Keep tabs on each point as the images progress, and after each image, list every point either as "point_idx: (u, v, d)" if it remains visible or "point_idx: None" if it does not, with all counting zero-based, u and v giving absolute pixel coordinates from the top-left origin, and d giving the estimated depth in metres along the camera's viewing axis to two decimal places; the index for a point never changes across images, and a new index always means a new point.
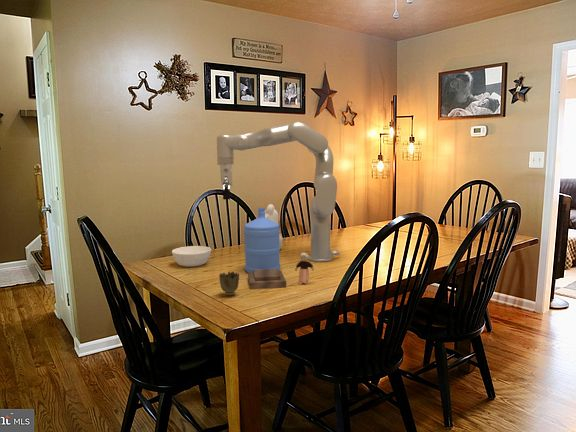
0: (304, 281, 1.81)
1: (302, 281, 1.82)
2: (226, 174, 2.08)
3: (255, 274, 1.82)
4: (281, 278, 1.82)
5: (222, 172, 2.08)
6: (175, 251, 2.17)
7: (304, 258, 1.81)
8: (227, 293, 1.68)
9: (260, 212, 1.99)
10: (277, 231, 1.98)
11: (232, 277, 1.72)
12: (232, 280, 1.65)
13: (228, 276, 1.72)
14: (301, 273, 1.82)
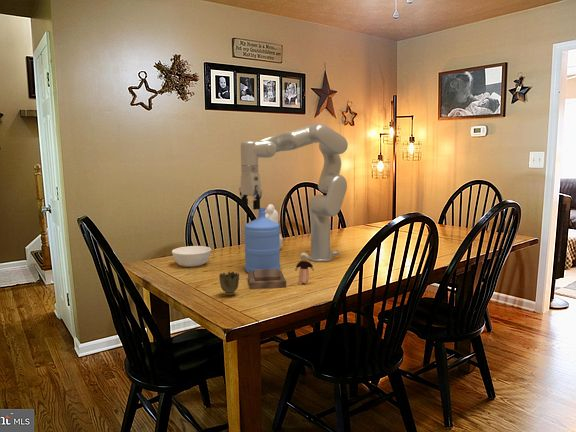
0: (304, 281, 1.81)
1: (302, 281, 1.82)
2: (256, 183, 1.97)
3: (255, 274, 1.82)
4: (281, 278, 1.82)
5: (252, 181, 1.96)
6: (175, 251, 2.17)
7: (304, 258, 1.81)
8: (227, 293, 1.68)
9: (260, 212, 1.99)
10: (277, 231, 1.98)
11: (232, 277, 1.72)
12: (232, 280, 1.65)
13: (228, 276, 1.72)
14: (301, 273, 1.82)
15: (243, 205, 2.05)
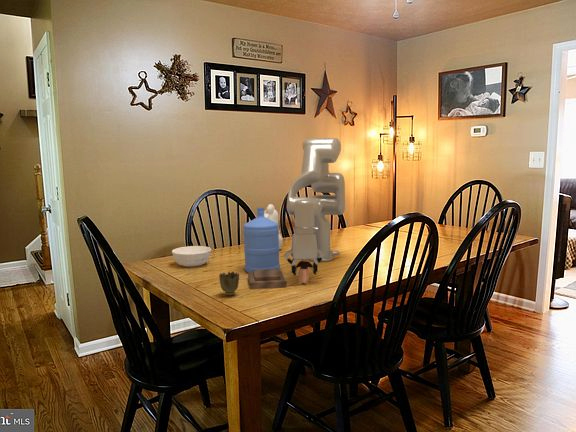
0: (304, 281, 1.81)
1: (302, 281, 1.82)
2: None
3: (255, 274, 1.82)
4: (281, 278, 1.82)
5: (316, 243, 1.80)
6: (175, 251, 2.17)
7: None
8: (227, 293, 1.68)
9: (259, 211, 1.99)
10: (276, 230, 1.98)
11: (232, 277, 1.72)
12: (232, 280, 1.65)
13: (228, 276, 1.72)
14: (301, 273, 1.82)
15: (295, 272, 1.81)
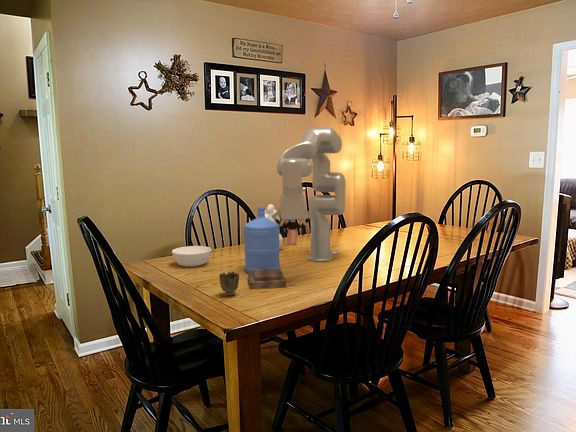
0: (292, 242, 1.80)
1: (290, 242, 1.80)
2: None
3: (255, 274, 1.82)
4: (281, 278, 1.82)
5: (304, 203, 1.78)
6: (175, 251, 2.17)
7: None
8: (227, 293, 1.68)
9: (259, 212, 1.98)
10: (276, 231, 1.97)
11: (232, 277, 1.72)
12: (232, 280, 1.65)
13: (228, 276, 1.72)
14: (289, 234, 1.81)
15: (283, 233, 1.80)
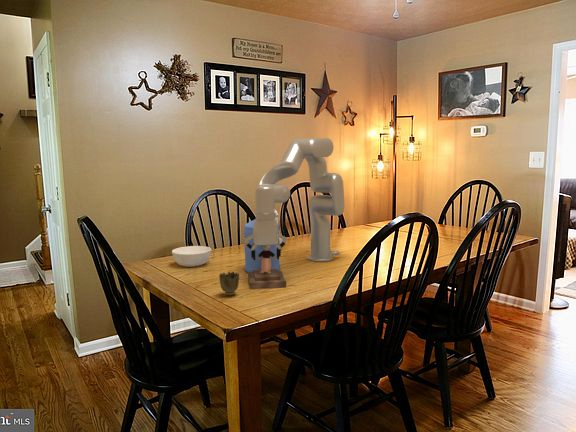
0: (266, 270, 1.83)
1: (264, 270, 1.83)
2: None
3: (255, 274, 1.82)
4: (281, 278, 1.82)
5: (277, 229, 1.81)
6: (175, 251, 2.17)
7: (266, 247, 1.82)
8: (227, 293, 1.68)
9: None
10: None
11: (232, 277, 1.72)
12: (232, 280, 1.65)
13: (228, 276, 1.72)
14: (263, 262, 1.84)
15: None
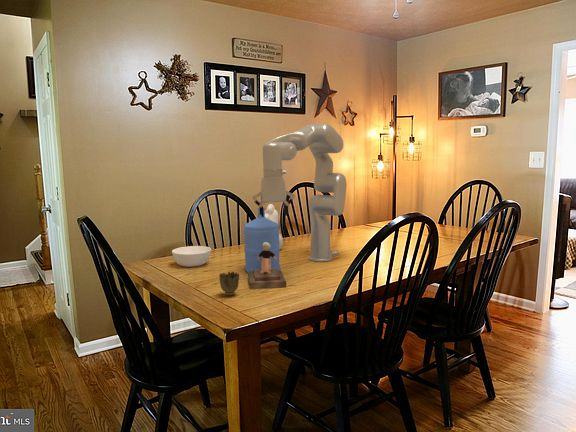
0: (266, 270, 1.83)
1: (264, 270, 1.83)
2: None
3: (255, 274, 1.82)
4: (281, 278, 1.82)
5: (284, 185, 1.84)
6: (175, 251, 2.17)
7: (266, 247, 1.82)
8: (227, 293, 1.68)
9: None
10: (276, 231, 1.97)
11: (232, 277, 1.72)
12: (232, 280, 1.65)
13: (228, 276, 1.72)
14: (263, 262, 1.84)
15: (263, 214, 1.85)
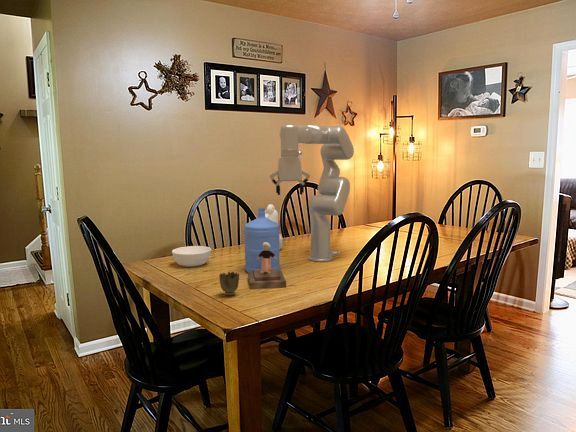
0: (266, 270, 1.83)
1: (264, 270, 1.83)
2: None
3: (255, 274, 1.82)
4: (281, 278, 1.82)
5: None
6: (175, 251, 2.17)
7: (266, 247, 1.82)
8: (227, 293, 1.68)
9: (260, 212, 1.99)
10: (276, 231, 1.97)
11: (232, 277, 1.72)
12: (232, 280, 1.65)
13: (228, 276, 1.72)
14: (263, 262, 1.84)
15: (279, 192, 1.94)
